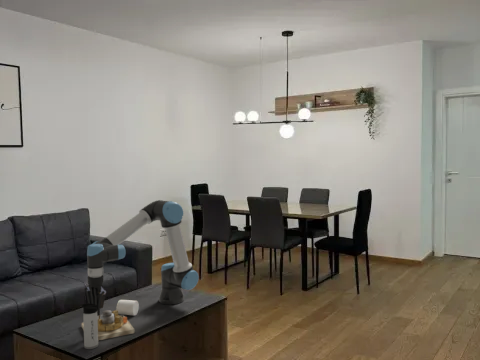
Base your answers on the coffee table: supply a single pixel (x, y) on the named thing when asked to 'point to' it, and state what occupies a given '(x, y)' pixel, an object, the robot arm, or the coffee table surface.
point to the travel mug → (90, 326)
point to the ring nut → (117, 323)
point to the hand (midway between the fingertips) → (96, 321)
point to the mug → (127, 307)
